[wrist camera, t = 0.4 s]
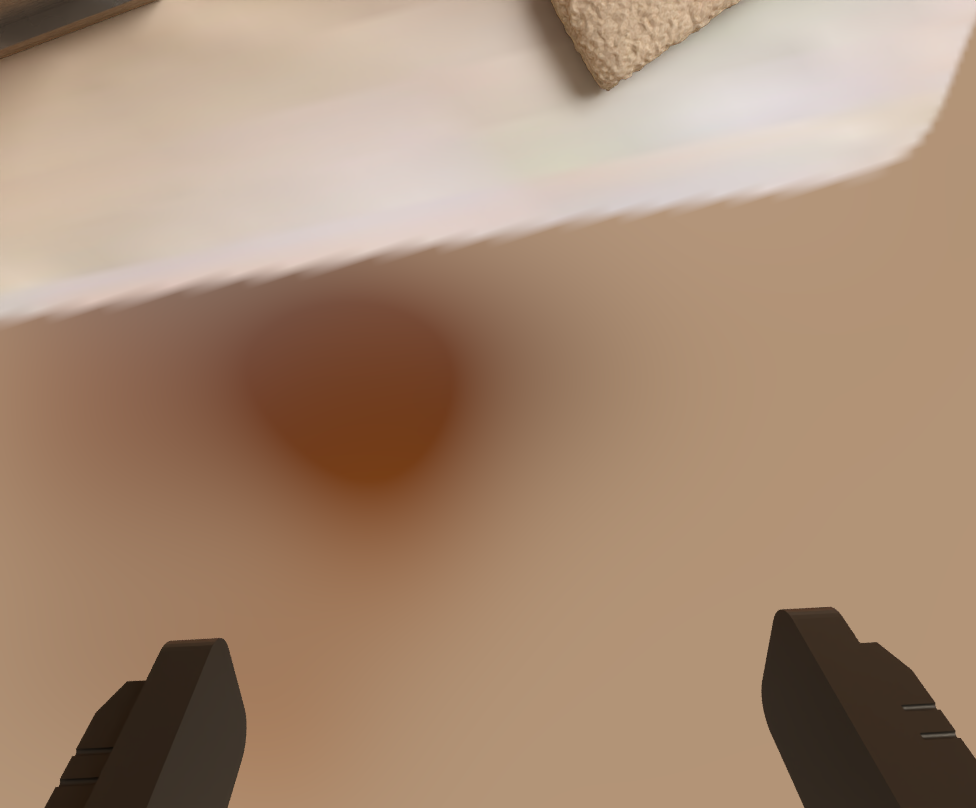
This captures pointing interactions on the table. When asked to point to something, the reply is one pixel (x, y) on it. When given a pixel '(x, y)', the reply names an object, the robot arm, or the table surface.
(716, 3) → the washcloth
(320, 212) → the table surface
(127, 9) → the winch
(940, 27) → the table surface
